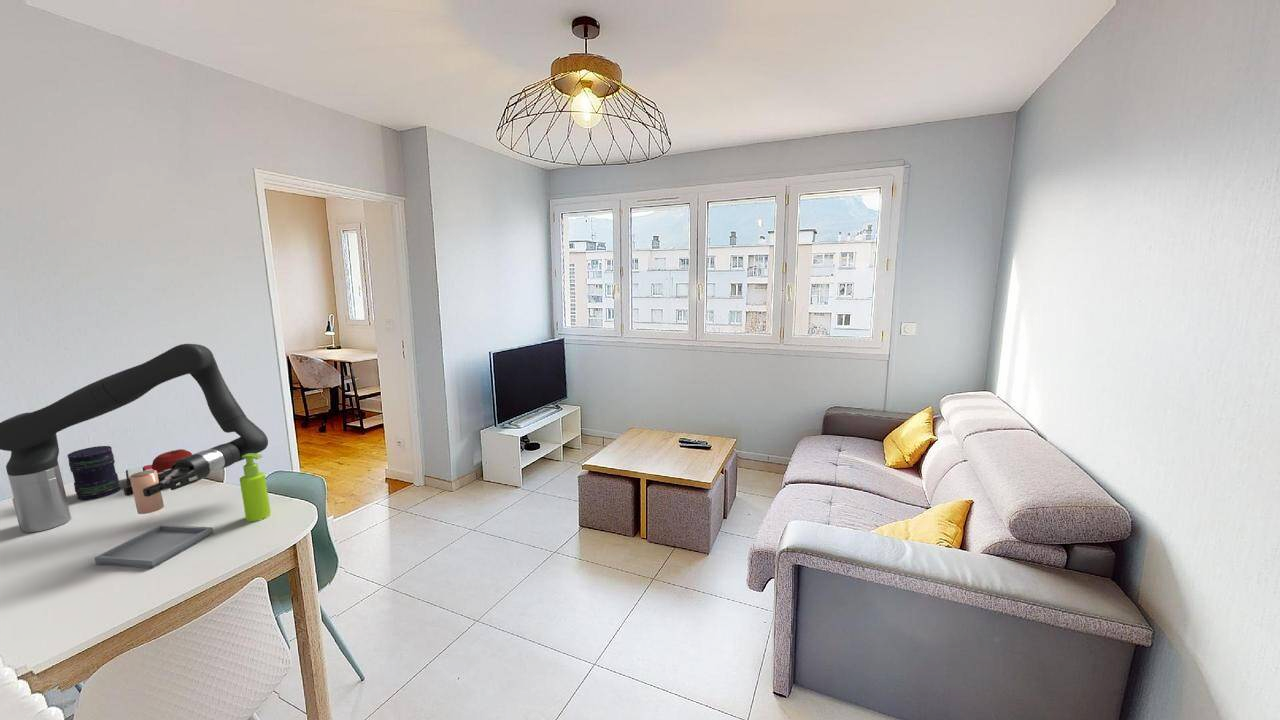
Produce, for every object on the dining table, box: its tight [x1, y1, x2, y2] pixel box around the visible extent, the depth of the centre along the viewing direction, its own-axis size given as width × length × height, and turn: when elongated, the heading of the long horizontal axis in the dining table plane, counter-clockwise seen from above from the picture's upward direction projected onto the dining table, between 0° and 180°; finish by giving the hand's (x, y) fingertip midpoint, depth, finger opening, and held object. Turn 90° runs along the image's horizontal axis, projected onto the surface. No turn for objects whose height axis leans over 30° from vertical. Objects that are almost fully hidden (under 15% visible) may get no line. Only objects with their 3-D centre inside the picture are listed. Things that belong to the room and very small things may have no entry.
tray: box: [94, 524, 215, 569], centre depth 131 cm, size 16×16×2 cm
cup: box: [130, 470, 165, 515], centre depth 128 cm, size 5×5×10 cm
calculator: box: [125, 464, 153, 487], centre depth 175 cm, size 11×4×15 cm
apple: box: [151, 448, 193, 473], centre depth 170 cm, size 11×11×12 cm
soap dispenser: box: [239, 453, 271, 522], centre depth 145 cm, size 6×7×20 cm
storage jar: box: [66, 445, 121, 501], centre depth 160 cm, size 10×10×15 cm
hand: (135, 492), depth 125 cm, fingers closed on cup, 5 cm apart
